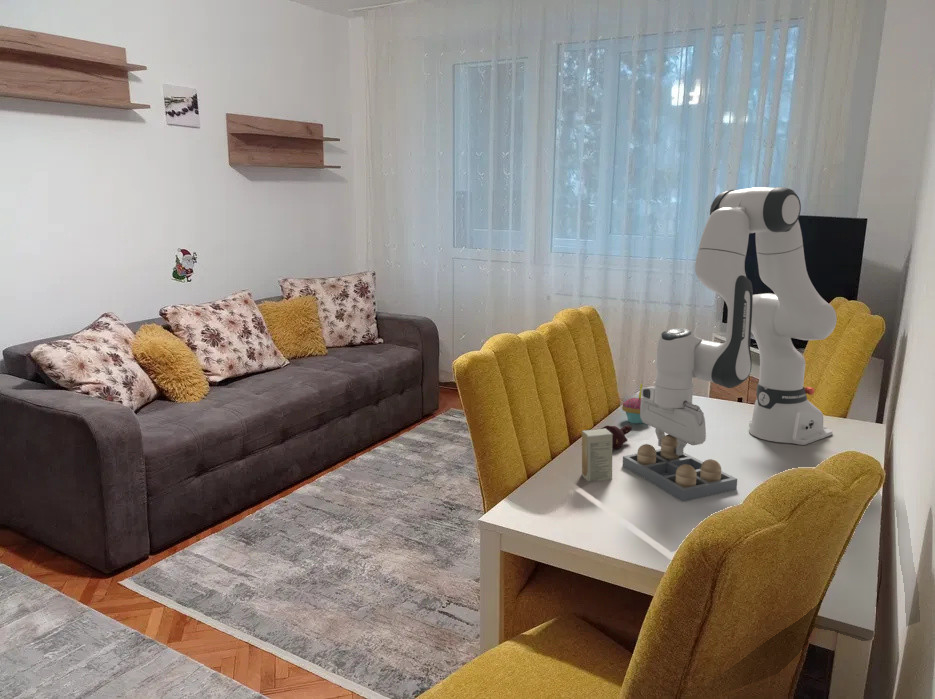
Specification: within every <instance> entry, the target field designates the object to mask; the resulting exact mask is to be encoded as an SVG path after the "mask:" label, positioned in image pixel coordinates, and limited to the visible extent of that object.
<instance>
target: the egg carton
mask: <svg viewBox="0 0 935 699" xmlns="http://www.w3.org/2000/svg"><path fill="white" fill-rule="evenodd" d="M655 450H656V463H655V464H649V465H642V464H640V463H639V462H637V453H634V454H628V455H627V454H626V455H623V456H622V467H623V468H625V469H627V470H629V471H630V472H632V473H634V474H635V475H637V476H638V477H639V478H642V479H644V480H645V481H647V482H649V483H651V484H652V485H654V486H656V488H659V489H661V490H662V491H664V492H666V493H668V494H669V495H671V496H672V497H674V498H676V499H678V500H679V501H681V502H687V501H691V500H692V501H693V500H697V499H700V498H705V497H709V496H714V495H718V494H722V493H723V494H724V493H727V492H733V491H737V490H738V489H737V488H738V478H736V477H734V476H733V475H730V474H728V473H727V472H724V471H722V470H721V480H719V481H715V482H710V483H709V482H707V481H705V480H704V479H702V478H700V471H701V465H702V463H703V462H704V461H702V460H700V459H698V458H695V457H694V456H692V455H690V454H688V453H686V452H684V451H683V455H680V456H679V459H675V460H670V461H667V460H666V459H664V458H662V457H661V448H659V449H655ZM684 464H688V465H691V466H692V467H693V468H694V469H695V470H696V474H697V477H696V486H691V487H687V488H683V487H681V486H679V485H678V484H676V483H675V479H676V470H677V468H678V467H679V466H681V465H684Z"/></svg>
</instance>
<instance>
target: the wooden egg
mask: <svg viewBox="0 0 935 699" xmlns="http://www.w3.org/2000/svg"><path fill="white" fill-rule="evenodd" d="M677 445H678V442H677V438H675V437H673V436H671V435H669V434H665V436H664V437H663V439H662V441H661V447H660V449H661V457H662V458H664V459H666V460H667V461H670V460H675V459H679V456H678V455H676V454H674V447H677Z"/></svg>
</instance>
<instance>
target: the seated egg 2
mask: <svg viewBox="0 0 935 699" xmlns="http://www.w3.org/2000/svg"><path fill="white" fill-rule="evenodd" d="M696 477H697V474H696V470H695V469H694V468H693V467H692V466H691V465H688V464H684V465H681V466H679V467H678V468H677V470H676V479H675V483H676V484H678V485H679V486H681V487H683V488H687V487H691V486H696Z"/></svg>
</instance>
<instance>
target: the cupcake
mask: <svg viewBox="0 0 935 699" xmlns="http://www.w3.org/2000/svg"><path fill="white" fill-rule="evenodd" d="M642 388H643V381H642V380H641V383H640V386H639V394H638V397H634V396H633V397H631V398H629V399H626V400H625V401H623V403H622V407H621V408H622V411H624V412H625V415H626V417H627V420H628V422H630V423H631V424H636V423H640V424H644V423H643V422H642V420H641V417H640V407H641V399H642V398H643V397H642V395H641V389H642Z"/></svg>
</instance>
